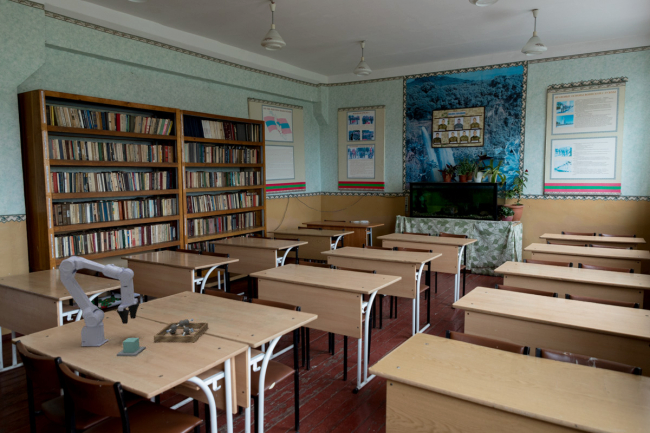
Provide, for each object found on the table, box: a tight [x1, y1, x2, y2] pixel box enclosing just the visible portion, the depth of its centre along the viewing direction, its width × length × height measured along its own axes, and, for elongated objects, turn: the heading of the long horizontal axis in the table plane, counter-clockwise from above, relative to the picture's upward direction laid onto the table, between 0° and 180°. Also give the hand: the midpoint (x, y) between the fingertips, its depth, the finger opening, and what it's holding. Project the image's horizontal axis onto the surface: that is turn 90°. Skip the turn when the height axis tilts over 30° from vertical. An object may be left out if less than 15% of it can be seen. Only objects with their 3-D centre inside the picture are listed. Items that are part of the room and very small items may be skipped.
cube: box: [122, 337, 140, 353], centre depth 199 cm, size 5×5×5 cm
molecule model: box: [167, 318, 194, 336], centre depth 223 cm, size 15×9×11 cm
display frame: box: [153, 321, 209, 343], centre depth 220 cm, size 20×20×3 cm
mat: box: [116, 346, 147, 357], centre depth 199 cm, size 9×9×1 cm
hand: (129, 320), depth 213 cm, fingers open, 7 cm apart
